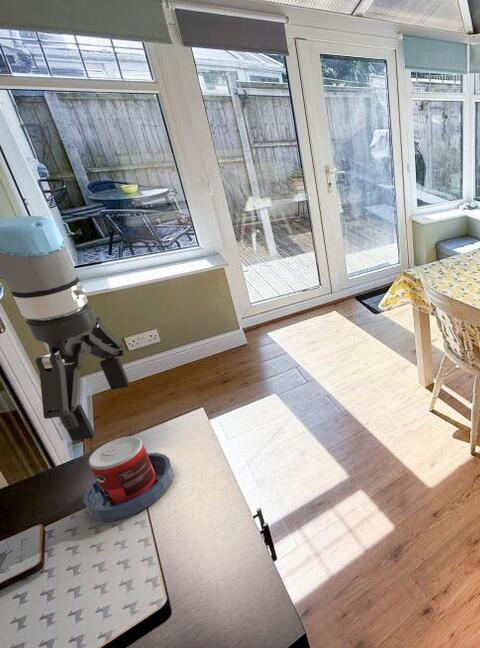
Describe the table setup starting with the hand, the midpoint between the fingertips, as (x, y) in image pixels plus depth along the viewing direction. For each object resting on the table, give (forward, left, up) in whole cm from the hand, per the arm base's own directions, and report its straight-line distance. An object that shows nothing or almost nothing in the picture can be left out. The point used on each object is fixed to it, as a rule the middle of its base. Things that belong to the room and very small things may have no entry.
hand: (103, 410), depth 76 cm
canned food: (-1, +1, -22) cm, 22 cm away
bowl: (-1, +1, -22) cm, 22 cm away
